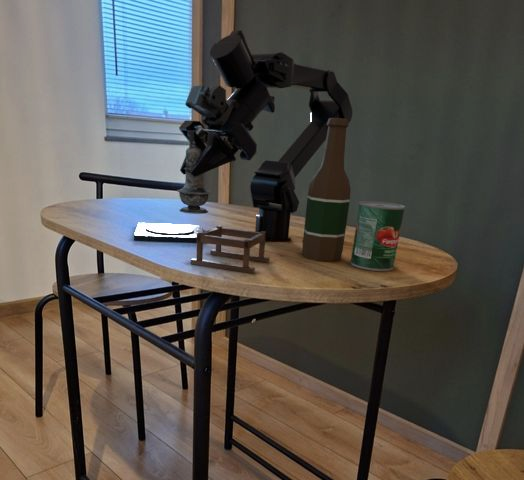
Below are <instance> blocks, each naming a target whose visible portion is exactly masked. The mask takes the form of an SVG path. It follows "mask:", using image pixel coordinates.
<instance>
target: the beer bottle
mask: <svg viewBox="0 0 524 480" xmlns="http://www.w3.org/2000/svg"><path fill="white" fill-rule="evenodd" d="M349 125H350V124H348V120H347V119H342V118H330V119H328V122H327V126H328V131H327V137H326V140H325V141H324V142H325V143H324V148H323V154H322V160H321V162H320V163H321V164H320V166H319V169H318V170H317V171H316V172H315V174H314V175H313V176H312V179H311V181H310V183H309V186H308V192H307V197H306V208H305V217H304V228H303V237H302V248H301V249H302V250H301V251H302V252H301V253H302V255H303V256H304V257H305V258H306V259H309V260H313V261H318V262H335V261H339V260H341V259H342V257H343V250H344V246H345V245H344V244H345V237H346V230H347V224H348V217H349V207H350V201H351V183H350V179H349V177H348V175H347V173H346V171H345V151H346V140H347V129H348V127H349Z"/></svg>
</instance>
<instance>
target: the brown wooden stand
mask: <svg viewBox="0 0 524 480" xmlns="http://www.w3.org/2000/svg"><path fill="white" fill-rule="evenodd" d="M225 236H227V237H225ZM231 237H232V238H231ZM233 237H235V238H233ZM265 237H266V232H263V231H261V232H255V230H245V229H237V228H230V227H223V225H217V226H216V227H213V228H211V229H208V230H206V231H203V233H197V243H196V258H193V257H192V258H191V259H190V265H195V266H201V267H207V268H215V269H221V270H227V271H233V272H238V273H239V272H240V273H246V274H247V273H248V274H255V272H256V271H255V269H256V267H253V266H250V261H251V262H252V261H253V262H259V263H265V264H268V263H270V257H268V256H265V250H266V249H265V248H266V241H265ZM238 238H241V239H238ZM204 244H210V245H215V249H213V248H212V249H211V250H210V253H209V254H210V255H211V256H217V257H225V258H232V259H238V260H242V265H240V264H233V263H227V262H220V261H215V260H214V261H213V260H208V259H203V258H204V257H203V255H204V253H203V252H204ZM258 244H259V245H258ZM257 245H258V255H255V254H251V253H250V252H251V248H253V247H255V246H257ZM222 246H223V247H231V248H238V249H243V253H240V252H235V251H234V252H233V251H227V250H222Z"/></svg>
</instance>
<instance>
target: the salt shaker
mask: <svg viewBox="0 0 524 480" xmlns="http://www.w3.org/2000/svg"><path fill="white" fill-rule="evenodd" d="M192 144H193V146H191V147H189V146H188V147H187V148H186V149H185V156H186V167H185V168H184V169H185V172H186V174H185V181H184V186H183V187H182V188H181V189H177V193H179V196H178V197H179V199H180V201H181V203H183V204H184V205H186V206H183V207H181V208H180V209H179V212H181V213H183V214H189V215H191V214H192V215H201V214H202V215H203V214H208V213H209V210H207V209H206V208H204V207H202V206H204V205H205V204H206V203H207V202H208V199H209V195H210V194H211V192H210V191H209V190H207V189H206V188H205V187H204V183H203V174H201V175H198V176H196V177H194V176H193V175H192V174H191V170H192V168H193V167H194V165H195V163H196V162H197V160H198V159H199V157H200V156H201V154H202V151H201V149H200V148H198V147H197V146H195V144H196V143H195V141H193V143H192Z"/></svg>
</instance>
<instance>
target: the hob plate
mask: <svg viewBox="0 0 524 480" xmlns="http://www.w3.org/2000/svg"><path fill="white" fill-rule="evenodd" d="M203 232H204V228H203V226H202V225H199V224H198V225H197V224H175V223H174V224H173V223H152V222H151V223H149V222H138V223H137V225H136V227H135V230H134V234H133V241H140V242H141V241H142V242H166V243H167V242H170V243H196V244H197V233H203Z"/></svg>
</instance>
